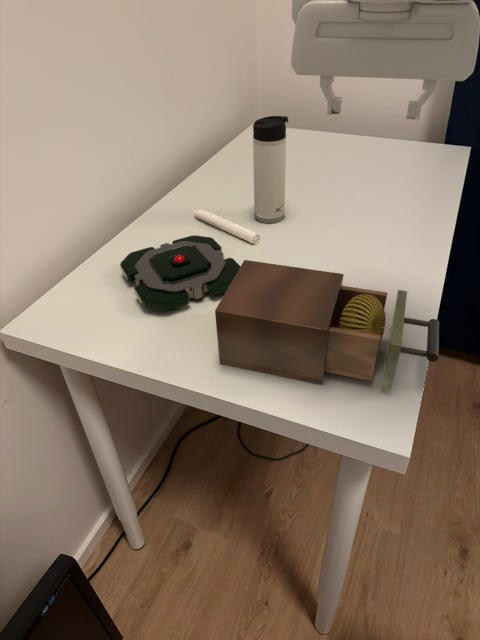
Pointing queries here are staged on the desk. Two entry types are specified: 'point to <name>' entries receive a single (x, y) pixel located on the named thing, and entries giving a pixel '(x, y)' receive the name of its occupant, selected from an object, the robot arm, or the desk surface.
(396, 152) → the desk surface
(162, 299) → the flat green button pad
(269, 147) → the travel mug
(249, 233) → the white rod
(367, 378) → the drawer
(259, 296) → the cabinet
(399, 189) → the desk surface
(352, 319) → the sculpture
